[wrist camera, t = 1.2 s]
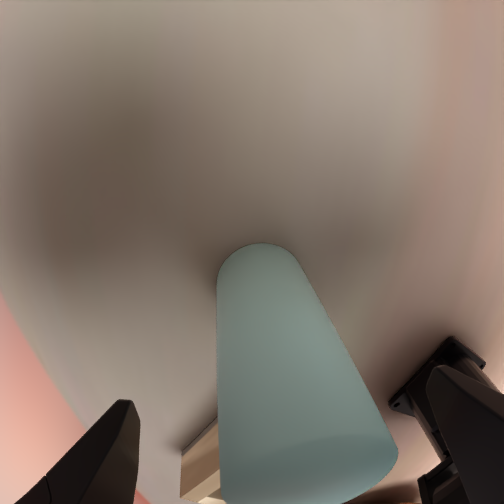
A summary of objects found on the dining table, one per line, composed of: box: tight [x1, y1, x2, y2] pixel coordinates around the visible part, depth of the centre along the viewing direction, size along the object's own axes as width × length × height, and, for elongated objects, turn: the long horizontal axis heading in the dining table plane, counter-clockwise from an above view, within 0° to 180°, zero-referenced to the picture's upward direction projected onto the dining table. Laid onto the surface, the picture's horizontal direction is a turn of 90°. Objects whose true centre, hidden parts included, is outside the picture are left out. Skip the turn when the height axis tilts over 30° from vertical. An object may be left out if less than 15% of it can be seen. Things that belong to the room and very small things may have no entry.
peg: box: [216, 243, 398, 504], centre depth 10 cm, size 4×4×10 cm
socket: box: [180, 417, 227, 504], centre depth 17 cm, size 8×8×4 cm
